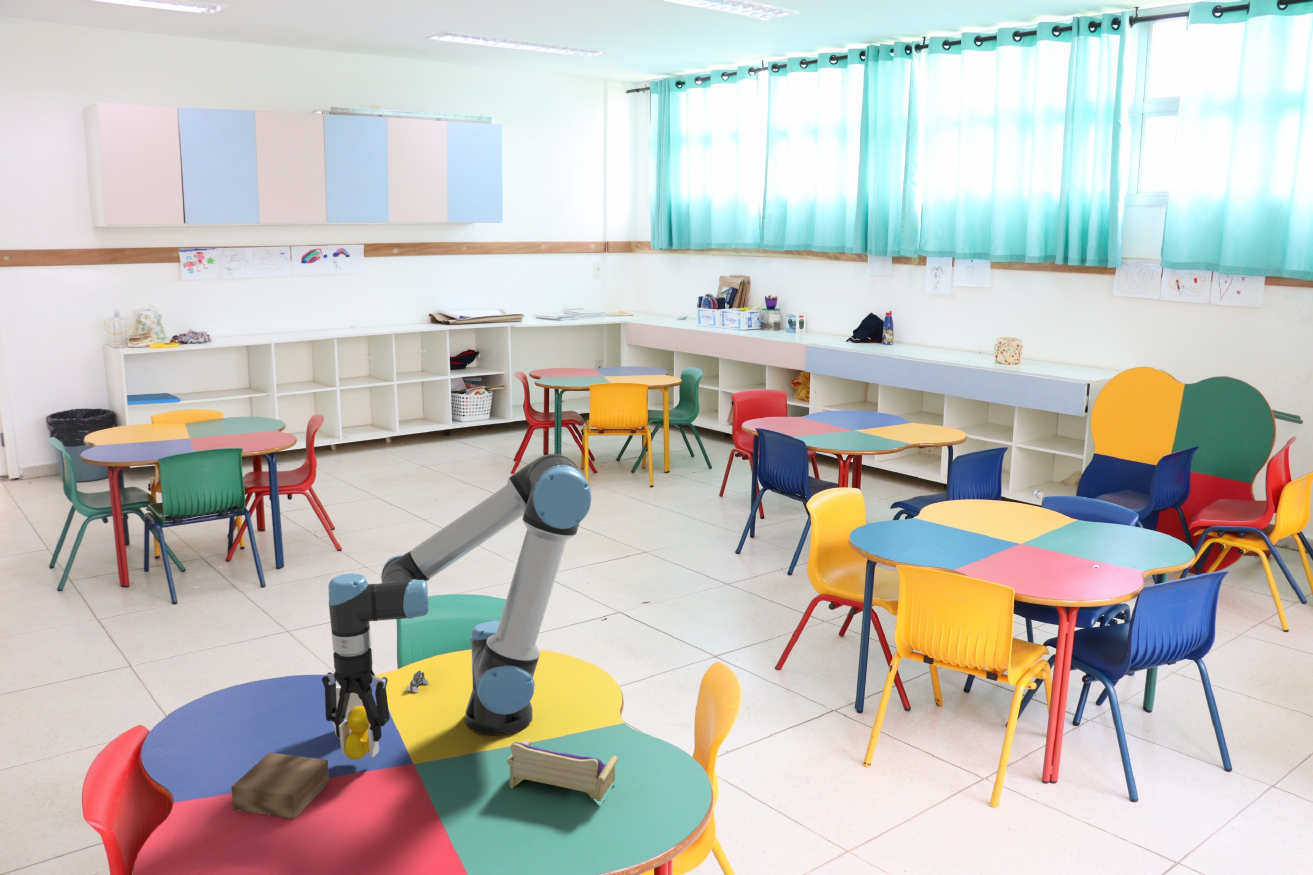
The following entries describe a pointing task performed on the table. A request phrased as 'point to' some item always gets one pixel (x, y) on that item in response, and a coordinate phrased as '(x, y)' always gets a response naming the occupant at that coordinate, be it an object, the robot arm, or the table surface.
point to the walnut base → (280, 785)
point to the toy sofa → (561, 769)
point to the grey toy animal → (417, 682)
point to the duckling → (357, 733)
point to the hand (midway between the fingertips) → (360, 752)
